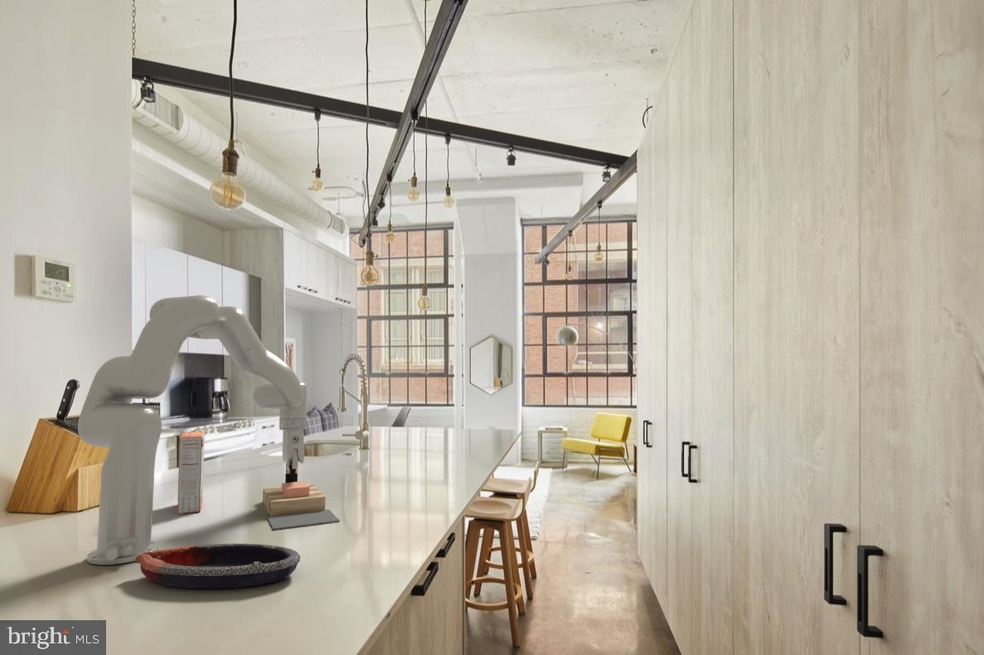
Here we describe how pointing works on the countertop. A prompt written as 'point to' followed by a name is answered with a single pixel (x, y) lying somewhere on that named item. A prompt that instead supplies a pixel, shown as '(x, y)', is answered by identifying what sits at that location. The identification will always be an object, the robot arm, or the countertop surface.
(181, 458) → the cracker box
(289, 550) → the dish
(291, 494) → the pink rectangular block
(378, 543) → the countertop surface
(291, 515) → the mat
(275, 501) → the wooden block
